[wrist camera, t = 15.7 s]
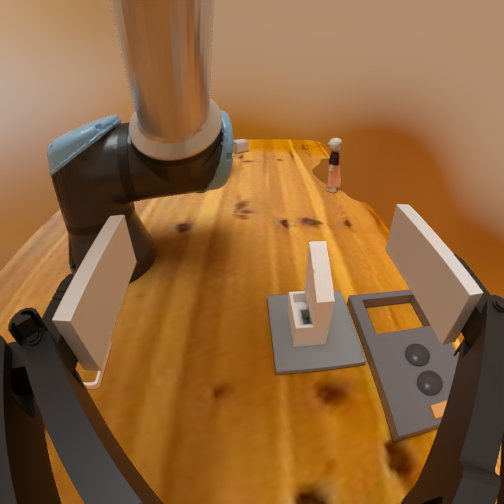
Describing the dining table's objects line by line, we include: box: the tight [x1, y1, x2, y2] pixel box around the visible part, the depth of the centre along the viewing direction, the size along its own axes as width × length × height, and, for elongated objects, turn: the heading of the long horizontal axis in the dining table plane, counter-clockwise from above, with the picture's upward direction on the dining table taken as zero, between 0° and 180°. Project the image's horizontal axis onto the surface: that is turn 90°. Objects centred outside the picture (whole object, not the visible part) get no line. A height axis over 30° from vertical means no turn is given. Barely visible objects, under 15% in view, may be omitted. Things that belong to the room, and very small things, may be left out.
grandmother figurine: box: [326, 138, 342, 193], centre depth 68 cm, size 8×4×13 cm, turn 169°
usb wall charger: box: [233, 139, 248, 154], centre depth 98 cm, size 4×7×4 cm, turn 128°
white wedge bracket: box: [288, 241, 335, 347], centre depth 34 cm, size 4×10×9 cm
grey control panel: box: [347, 290, 458, 442], centre depth 30 cm, size 20×11×2 cm, turn 2°
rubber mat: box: [267, 291, 366, 375], centre depth 35 cm, size 12×10×1 cm
